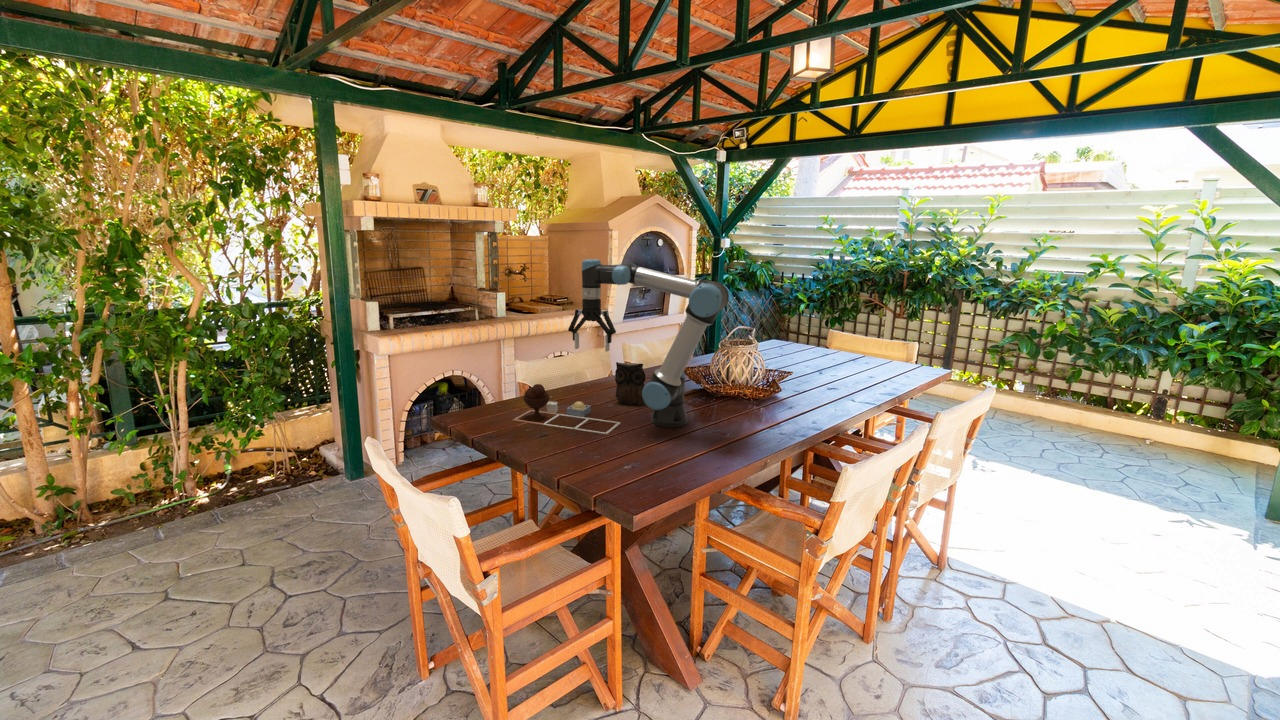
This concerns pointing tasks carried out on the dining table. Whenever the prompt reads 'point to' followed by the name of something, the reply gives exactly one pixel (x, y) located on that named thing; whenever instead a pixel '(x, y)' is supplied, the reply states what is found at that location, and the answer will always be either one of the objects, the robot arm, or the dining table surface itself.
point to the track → (568, 427)
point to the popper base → (578, 411)
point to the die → (552, 407)
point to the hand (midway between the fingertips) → (592, 349)
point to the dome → (579, 405)
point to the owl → (629, 384)
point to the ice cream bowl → (536, 399)
